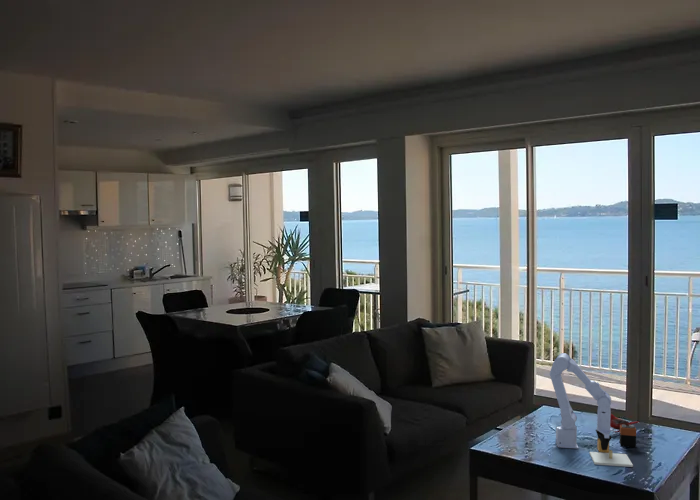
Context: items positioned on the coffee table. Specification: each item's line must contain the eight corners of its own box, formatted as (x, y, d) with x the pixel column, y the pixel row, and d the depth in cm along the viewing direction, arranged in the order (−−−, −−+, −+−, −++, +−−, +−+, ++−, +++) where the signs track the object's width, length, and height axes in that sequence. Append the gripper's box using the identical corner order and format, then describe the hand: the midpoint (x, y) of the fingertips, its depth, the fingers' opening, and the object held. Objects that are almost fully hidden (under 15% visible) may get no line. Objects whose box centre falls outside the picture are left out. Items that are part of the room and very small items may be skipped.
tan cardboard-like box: (599, 452, 291) (599, 441, 291) (597, 448, 295) (597, 438, 295) (609, 452, 290) (609, 442, 290) (606, 449, 294) (607, 438, 294)
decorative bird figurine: (602, 430, 318) (602, 411, 317) (638, 432, 316) (639, 413, 315) (603, 432, 315) (604, 413, 315) (640, 434, 313) (641, 415, 312)
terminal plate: (594, 464, 277) (594, 454, 277) (589, 453, 289) (589, 444, 289) (632, 467, 274) (633, 457, 274) (626, 456, 286) (626, 446, 286)
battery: (636, 447, 296) (636, 427, 295) (620, 446, 298) (621, 426, 297) (634, 444, 300) (635, 424, 300) (619, 443, 302) (619, 422, 301)
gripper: (616, 425, 284) (615, 454, 285) (609, 414, 298) (608, 442, 299) (600, 424, 285) (599, 453, 286) (593, 414, 299) (593, 441, 300)
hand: (603, 447), depth 293 cm, fingers closed on tan cardboard-like box, 4 cm apart
